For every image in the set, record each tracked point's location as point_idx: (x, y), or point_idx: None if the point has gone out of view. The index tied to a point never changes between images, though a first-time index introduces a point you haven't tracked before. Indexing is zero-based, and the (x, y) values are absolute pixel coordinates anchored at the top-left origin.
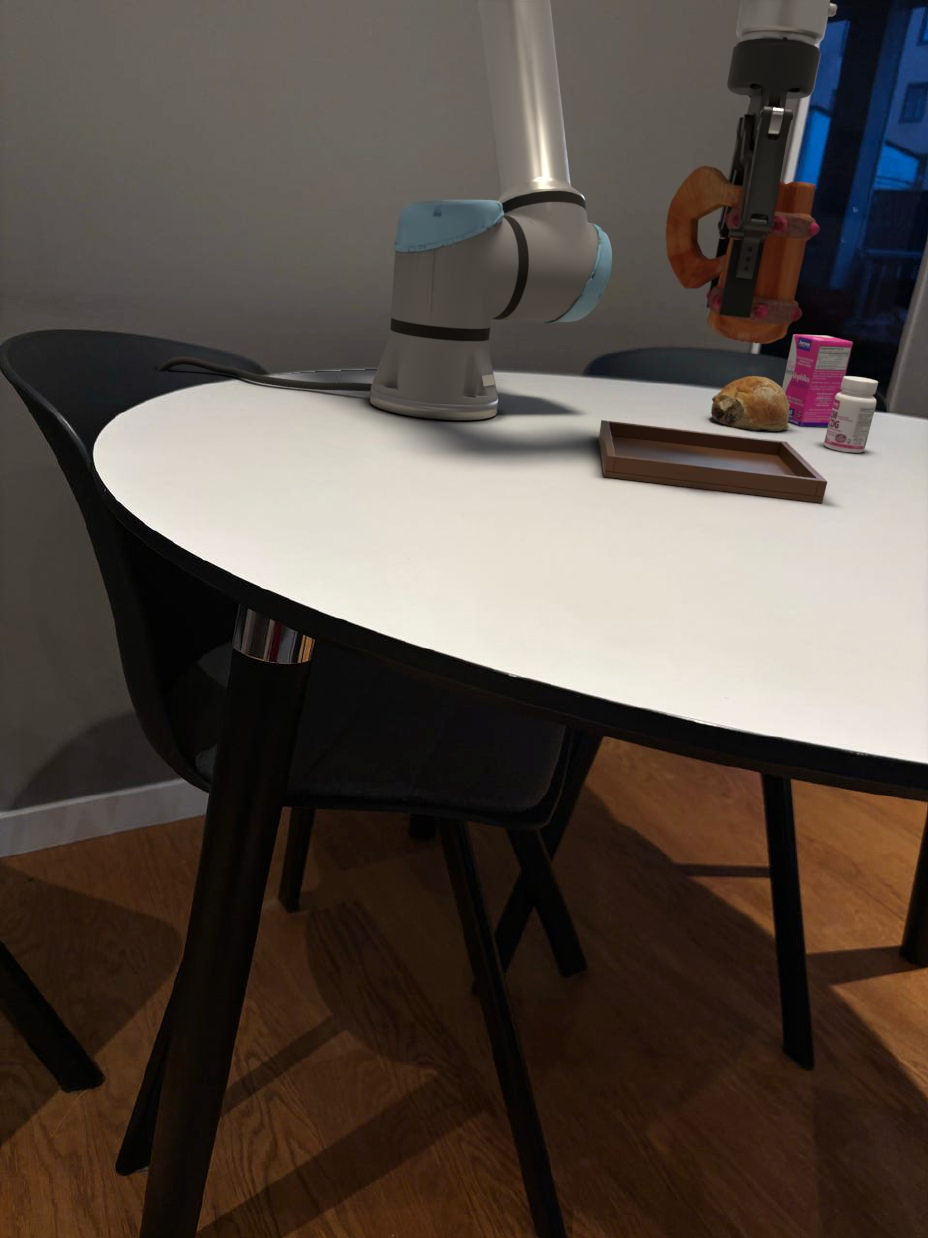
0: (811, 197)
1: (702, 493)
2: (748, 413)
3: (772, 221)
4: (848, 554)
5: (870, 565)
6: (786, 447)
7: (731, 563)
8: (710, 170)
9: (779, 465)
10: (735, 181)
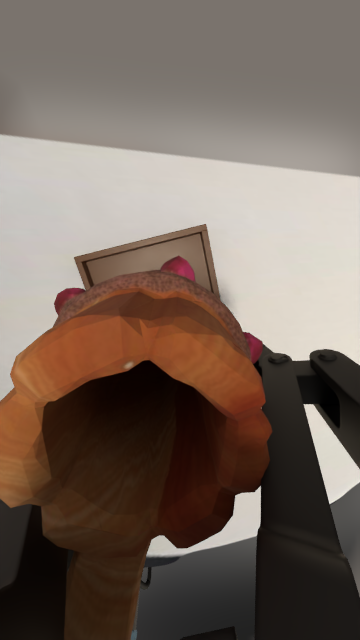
0: (179, 307)
1: (228, 300)
2: None
3: (347, 358)
4: (313, 213)
5: (328, 201)
6: (100, 256)
7: (355, 271)
8: None
9: (123, 259)
10: (66, 582)
